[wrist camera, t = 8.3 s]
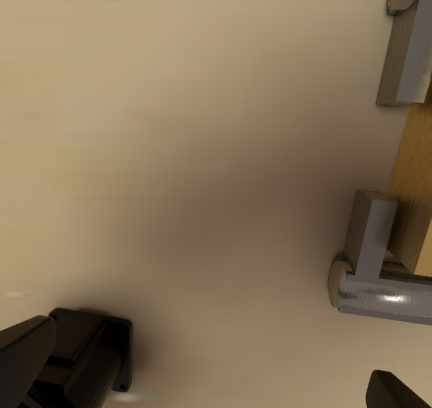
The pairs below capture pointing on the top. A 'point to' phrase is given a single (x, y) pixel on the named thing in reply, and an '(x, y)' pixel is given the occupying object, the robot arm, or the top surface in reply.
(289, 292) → the top surface
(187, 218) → the top surface
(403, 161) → the gold ingot
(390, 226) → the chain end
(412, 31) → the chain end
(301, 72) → the top surface
